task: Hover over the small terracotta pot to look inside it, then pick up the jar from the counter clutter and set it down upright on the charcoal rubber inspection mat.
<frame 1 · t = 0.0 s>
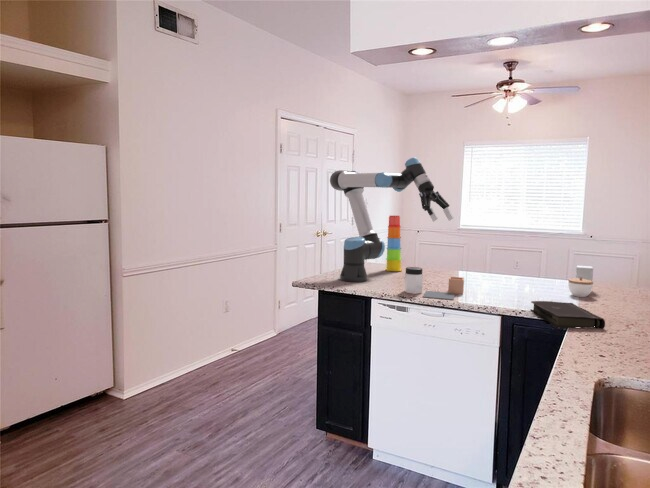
hand: (443, 219, 232), 36 cm above the countertop, tool tilted 35°, fingers open, 13 cm apart
diary: (563, 320, 188), on the countertop
mat: (439, 295, 226), on the countertop
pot: (455, 292, 235), on the countertop
jar: (413, 292, 233), on the countertop
supplement box: (582, 290, 245), on the countertop
lidded jar: (579, 296, 232), on the countertop
stacking cups: (393, 270, 295), on the countertop
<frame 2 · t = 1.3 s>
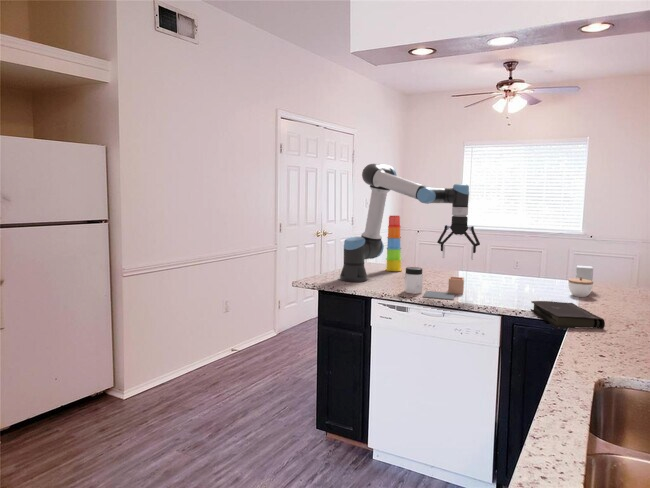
hand: (457, 258, 233), 17 cm above the countertop, tool pointing down, fingers open, 13 cm apart
nothing on the countertop moved.
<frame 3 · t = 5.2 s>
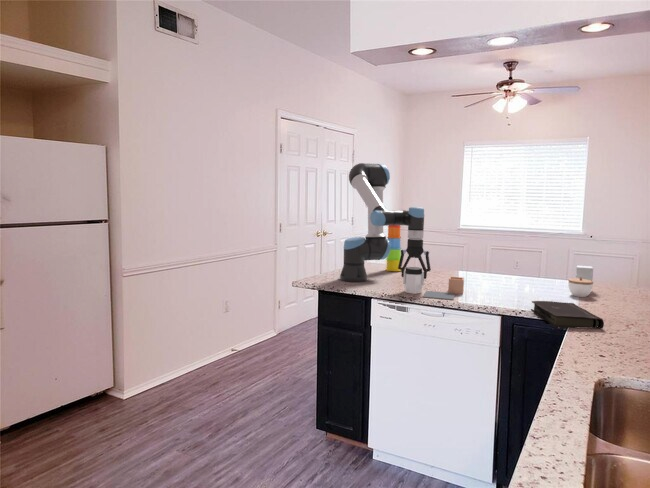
hand: (413, 284, 232), 4 cm above the countertop, tool pointing down, fingers closed on jar, 8 cm apart
jar: (412, 292, 233), on the countertop, touching gripper
everything else where it was.
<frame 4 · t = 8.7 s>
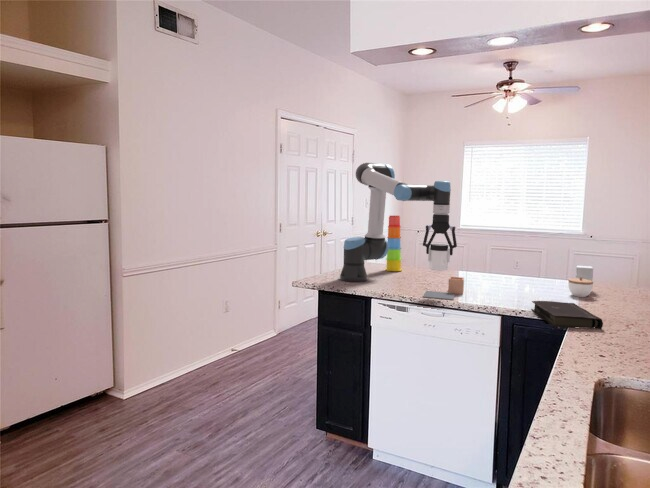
hand: (438, 261, 224), 17 cm above the countertop, tool pointing down, fingers closed on jar, 8 cm apart
jar: (438, 269, 225), point 13 cm above the countertop, touching gripper
everything else where it was.
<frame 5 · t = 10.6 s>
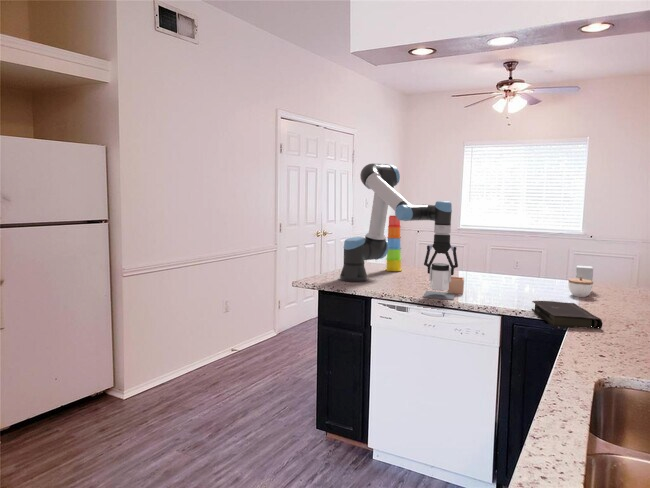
hand: (440, 281, 225), 7 cm above the countertop, tool pointing down, fingers closed on jar, 8 cm apart
jar: (439, 289, 226), point 3 cm above the countertop, touching gripper
everything else where it was.
when the fingers open (4 cm above the countertop, at t = 12.3 s): jar stays where it is, resting on mat.
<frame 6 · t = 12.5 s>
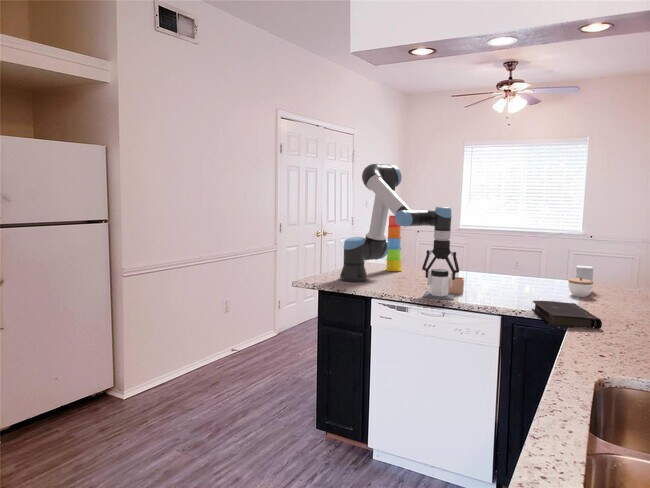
hand: (439, 285, 225), 5 cm above the countertop, tool pointing down, fingers open, 10 cm apart
jar: (438, 295, 226), resting on mat
everything else where it was.
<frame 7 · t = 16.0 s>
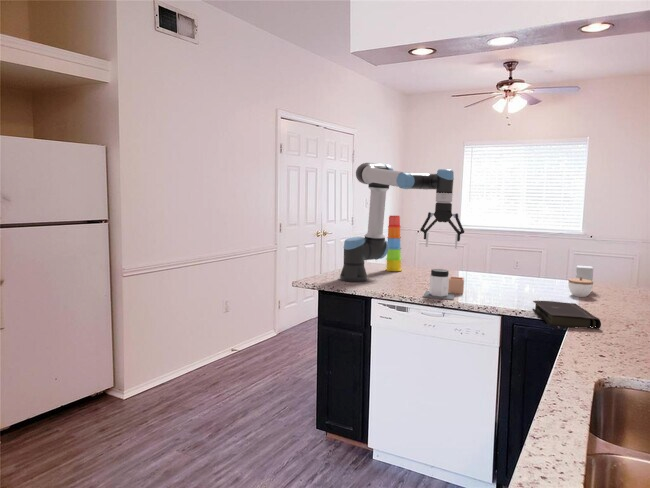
hand: (441, 247, 224), 23 cm above the countertop, tool pointing down, fingers open, 13 cm apart
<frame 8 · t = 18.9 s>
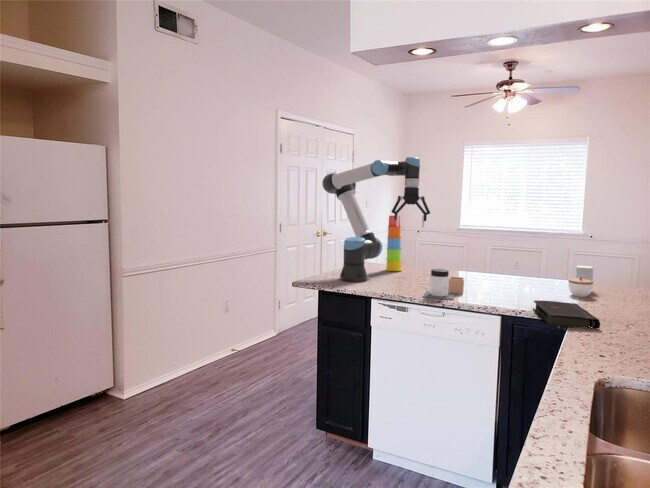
hand: (410, 226, 251), 31 cm above the countertop, tool pointing down, fingers open, 13 cm apart
at the end: jar inside the target area on the mat (0.3 cm from its centre), point 0.2 cm above the mat's base; jar tilted 0°; the gripper is holding nothing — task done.
